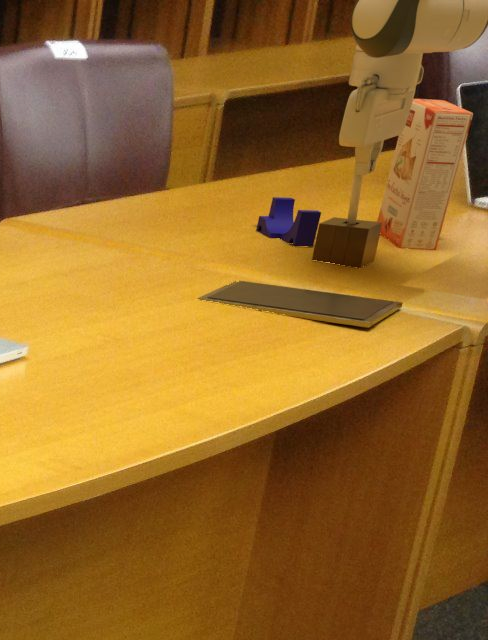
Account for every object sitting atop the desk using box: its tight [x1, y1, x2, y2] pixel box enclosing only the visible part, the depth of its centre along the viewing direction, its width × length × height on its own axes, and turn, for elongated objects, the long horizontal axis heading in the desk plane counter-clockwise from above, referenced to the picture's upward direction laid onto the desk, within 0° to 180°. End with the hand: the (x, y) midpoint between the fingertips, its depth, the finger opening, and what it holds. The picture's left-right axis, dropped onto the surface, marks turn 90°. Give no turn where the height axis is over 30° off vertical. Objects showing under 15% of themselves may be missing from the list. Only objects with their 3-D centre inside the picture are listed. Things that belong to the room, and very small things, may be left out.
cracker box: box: [376, 98, 474, 251], centre depth 240 cm, size 14×6×21 cm, turn 170°
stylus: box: [347, 161, 364, 225], centre depth 226 cm, size 1×1×14 cm
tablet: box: [197, 280, 403, 329], centre depth 205 cm, size 22×15×1 cm
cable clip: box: [255, 196, 322, 247], centre depth 243 cm, size 12×4×6 cm, turn 179°
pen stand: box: [311, 216, 382, 269], centre depth 229 cm, size 7×7×6 cm
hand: (363, 173), depth 224 cm, fingers closed on stylus, 1 cm apart
